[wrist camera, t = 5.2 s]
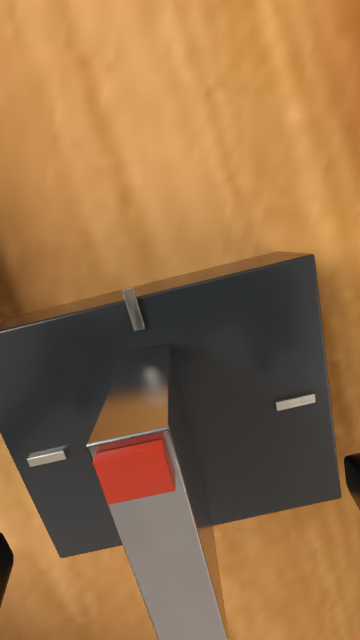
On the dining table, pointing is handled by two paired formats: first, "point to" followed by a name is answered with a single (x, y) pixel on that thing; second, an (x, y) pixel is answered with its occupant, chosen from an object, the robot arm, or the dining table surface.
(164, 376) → the tap handle
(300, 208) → the dining table surface
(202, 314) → the tap console
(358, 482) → the robot arm
